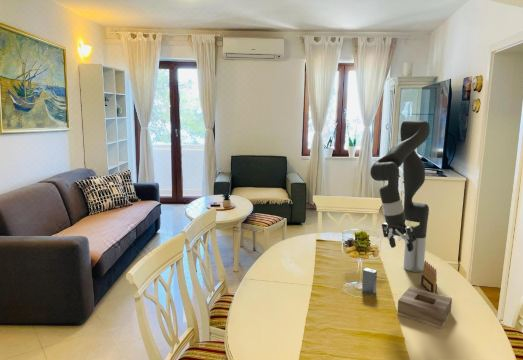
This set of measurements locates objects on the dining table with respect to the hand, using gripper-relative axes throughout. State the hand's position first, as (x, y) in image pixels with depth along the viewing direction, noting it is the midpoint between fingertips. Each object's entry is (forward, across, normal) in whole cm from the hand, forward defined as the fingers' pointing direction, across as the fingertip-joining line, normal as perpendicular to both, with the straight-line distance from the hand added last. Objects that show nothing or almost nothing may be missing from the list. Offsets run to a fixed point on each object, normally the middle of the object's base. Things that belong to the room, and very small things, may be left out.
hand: (401, 248), depth 153 cm
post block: (+24, -8, +4) cm, 26 cm away
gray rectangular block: (+20, +15, +9) cm, 26 cm away
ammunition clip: (+27, +4, -13) cm, 30 cm away
